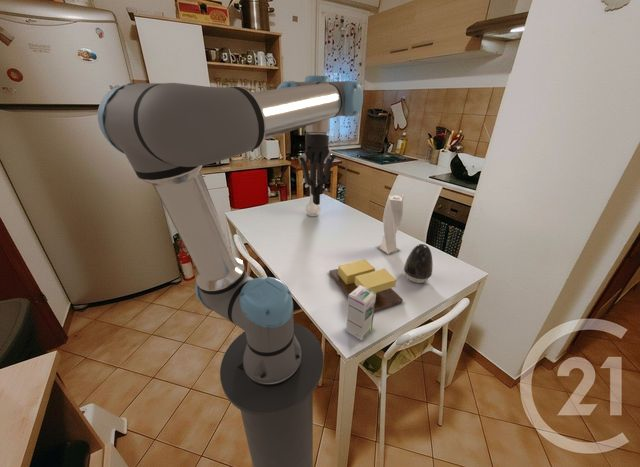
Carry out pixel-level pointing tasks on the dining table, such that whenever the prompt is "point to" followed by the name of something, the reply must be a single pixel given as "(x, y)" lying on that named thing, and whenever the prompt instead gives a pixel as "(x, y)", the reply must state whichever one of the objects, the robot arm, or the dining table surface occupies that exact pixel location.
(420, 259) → the dark egg on stand
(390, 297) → the walnut board
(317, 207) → the flower vase
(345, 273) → the butter block
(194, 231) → the robot arm
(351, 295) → the syrup box
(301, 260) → the dining table surface
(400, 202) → the skyscraper
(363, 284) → the butter slice
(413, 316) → the dining table surface
